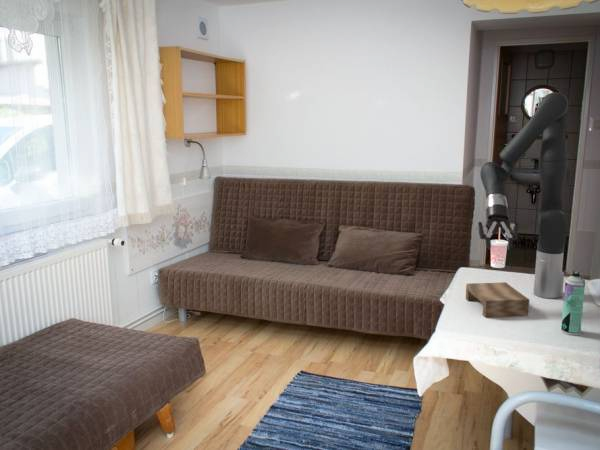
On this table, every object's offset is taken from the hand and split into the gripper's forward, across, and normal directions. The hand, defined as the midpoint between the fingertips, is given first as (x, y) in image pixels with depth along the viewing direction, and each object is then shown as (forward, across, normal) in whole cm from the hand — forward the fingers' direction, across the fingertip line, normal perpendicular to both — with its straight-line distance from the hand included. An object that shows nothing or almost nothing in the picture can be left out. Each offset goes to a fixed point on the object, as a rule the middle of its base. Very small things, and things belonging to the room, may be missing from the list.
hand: (499, 248), depth 193 cm
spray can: (+28, +20, +3) cm, 35 cm away
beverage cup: (+4, 0, +6) cm, 7 cm away
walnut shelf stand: (+15, 0, +16) cm, 22 cm away
